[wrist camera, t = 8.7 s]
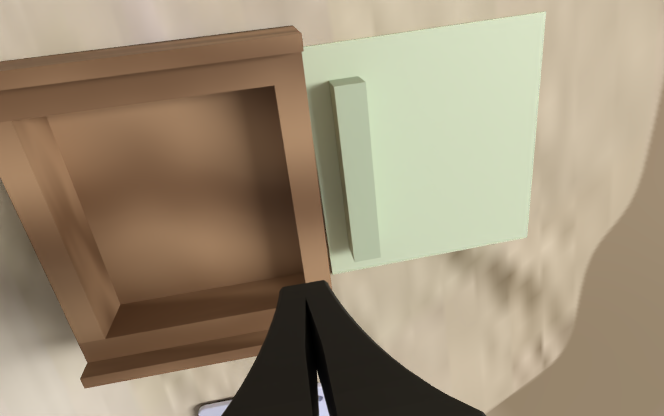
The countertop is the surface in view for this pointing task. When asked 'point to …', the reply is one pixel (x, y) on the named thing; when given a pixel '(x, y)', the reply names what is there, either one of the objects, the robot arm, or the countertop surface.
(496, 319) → the countertop surface
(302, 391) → the robot arm
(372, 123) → the lid
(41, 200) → the box
